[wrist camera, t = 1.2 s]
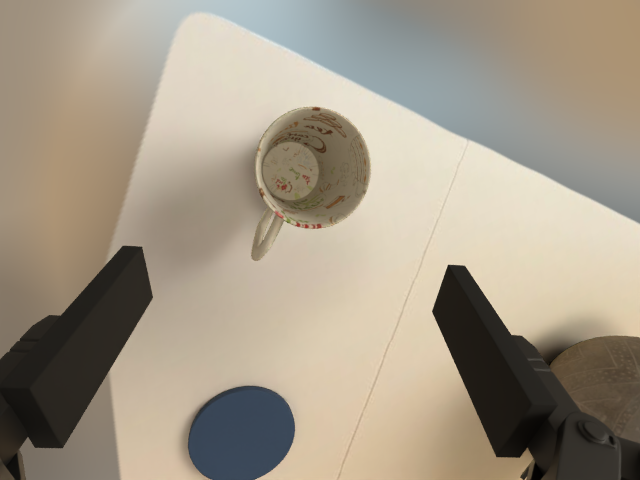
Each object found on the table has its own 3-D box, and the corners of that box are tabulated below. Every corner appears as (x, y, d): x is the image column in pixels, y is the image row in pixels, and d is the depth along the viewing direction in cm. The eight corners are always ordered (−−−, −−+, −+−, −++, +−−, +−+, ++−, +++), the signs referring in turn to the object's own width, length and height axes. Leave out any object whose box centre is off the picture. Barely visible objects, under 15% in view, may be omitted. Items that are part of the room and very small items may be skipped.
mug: (345, 153, 34) (390, 144, 25) (291, 265, 35) (314, 298, 25) (270, 109, 32) (288, 81, 22) (212, 231, 32) (206, 254, 23)
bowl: (629, 398, 53) (779, 481, 38) (525, 476, 50) (645, 597, 35) (603, 287, 47) (767, 335, 33) (483, 367, 44) (606, 459, 30)
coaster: (166, 452, 35) (164, 458, 34) (234, 367, 35) (234, 371, 34) (251, 492, 38) (251, 498, 38) (313, 415, 39) (314, 419, 38)
